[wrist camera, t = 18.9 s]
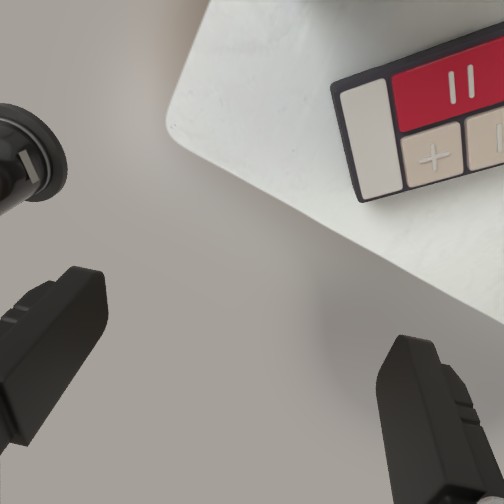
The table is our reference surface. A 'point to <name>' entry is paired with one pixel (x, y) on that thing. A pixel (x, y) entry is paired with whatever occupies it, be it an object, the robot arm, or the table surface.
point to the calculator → (424, 116)
